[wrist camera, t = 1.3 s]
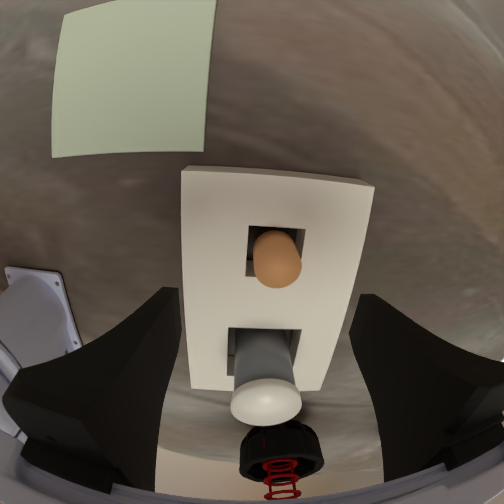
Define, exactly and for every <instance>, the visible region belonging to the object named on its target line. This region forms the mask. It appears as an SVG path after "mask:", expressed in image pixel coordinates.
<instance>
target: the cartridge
mask: <svg viewBox="0 0 504 504" xmlns="http://www.w3.org/2000/svg"><path fill="white" fill-rule="evenodd" d="M301 407H302V402H301V396H300V392H299V390H298V388H297V387H296V385H295V379H294V374H293V368H292V363H291V358H290V352H289V347H288V342H287V336H286V331H285V329H261V328H237V329H236V332H235V365H234V392H233V394H232V396H231V412H232V414H233V416H234V417H235V418H236V419H238V420H239V421H241V422H243V423H246V424H250V425H256V426H270V425H276V424H280V423H283V422H285V421H288V420H290V419H291V418H293V417H294V416H296V415H297V414H298V413H299V411H300V409H301Z"/></svg>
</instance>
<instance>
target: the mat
mask: <svg viewBox="0 0 504 504" xmlns="http://www.w3.org/2000/svg"><path fill="white" fill-rule="evenodd" d="M216 4H217V0H117V1H112V2H108V3H104V4H100V5H96V6H92V7H89V8H85V9H82V10H78V11H75V12H72V13H69V14H66V15H64V19H63V24H62V29H61V34H60V40H59V46H58V52H57V59H56V67H55V76H54V87H53V101H52V158H57V157H67V156H77V155H89V154H103V153H121V152H152V151H194V152H203V151H204V143H205V125H206V109H207V95H208V82H209V70H210V59H211V48H212V39H213V29H214V21H215V12H216Z"/></svg>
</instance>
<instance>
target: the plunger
mask: <svg viewBox="0 0 504 504" xmlns="http://www.w3.org/2000/svg"><path fill="white" fill-rule="evenodd" d="M253 261H254V272H255V275H256V278H257V279H258V280H259V282H261V283H262V284H263V285H265V286H267V287H270V288H284V287H287V286H289V285H291V284H292V283H293V282H295V281H296V280H297V278H298V277H299V275H300V273H301V270H302V262H301V259H300V256H299V254H298V251H297V249H296V247H295V244H294V242H293V240H292V238H291V237H290V236H289V235H288V234H286V233H284V232H282V231H278V230H272V231H267V232H265V233H263V234H262V235H260V236H259V237H258V238H257V239H256V241H255V243H254V246H253Z"/></svg>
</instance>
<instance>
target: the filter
mask: <svg viewBox="0 0 504 504" xmlns="http://www.w3.org/2000/svg"><path fill="white" fill-rule="evenodd" d="M323 465H324V459H323V456H322V452H321V448H320V444H319V440H318V437H317V435H316V433H315V432H314V431H313V430H312V428H311V427H309V426H307V425H305V424H302V423H301V422H299V421H297V420H288V421H285V422H283V423H280V424H276V425H270V426H255V427H254V428H252V429H251V430H250V431H249V432H248V433H247V435H246V436H245V438H244V439H243V440H242V443H241V447H240V468H239V471H240V474H241V475H242V476H243V477H245V478H248V479H250V480H253V481H256V482H264V484H266V485H268V486H269V493H267V494H266V495H264V498H265V499H267V500H283V499H296V498H297V497H299V496H300V495H301V491H299V490H296V485H295V482H298V480H299V479H301V478H304V477H307V476H309V475H312V474H313V473H315V472H317V471H319V470H320V469H321V468H322V467H323ZM286 481H290V482H286ZM278 482H286V483H278ZM289 484H293V490H281V491H274V492H272V489H271V486H284V485H289ZM280 493H294V496H291V497H286V498H272V495H274V494H280Z"/></svg>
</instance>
